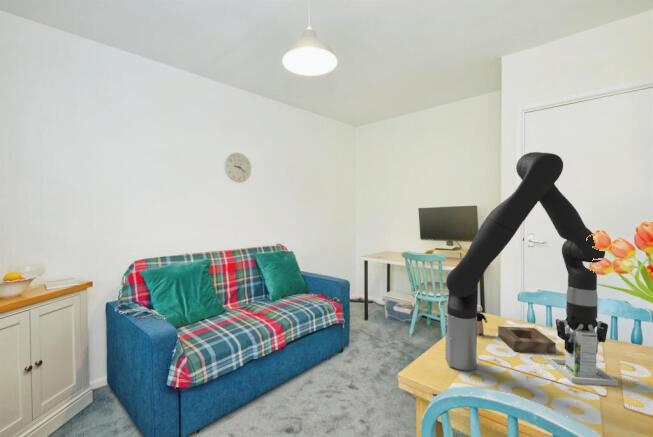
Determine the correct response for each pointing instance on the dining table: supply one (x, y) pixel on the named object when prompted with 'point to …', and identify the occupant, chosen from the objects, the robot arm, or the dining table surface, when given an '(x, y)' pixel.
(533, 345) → the socket block
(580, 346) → the syrup box
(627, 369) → the dining table surface
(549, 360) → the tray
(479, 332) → the grandmother figurine
